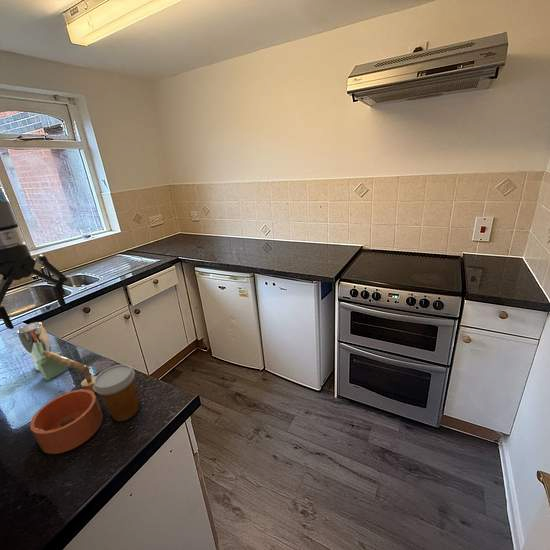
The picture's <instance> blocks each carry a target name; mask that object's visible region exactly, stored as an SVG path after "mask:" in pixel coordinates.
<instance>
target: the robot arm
mask: <svg viewBox="0 0 550 550" xmlns="http://www.w3.org/2000/svg"><path fill="white" fill-rule="evenodd" d="M24 241H25V238H24V236H23V233H22V230H21V228H20V226H19V223H18V220H17V218H16V216H15V214H14V210H13V208H12V205H11V203H10V201H9V199H8V196H7V195H6V193H5V190H4V188H3V187H2V186H1V185H0V276H2V278H1V279H0V320H2V321H3V324H4V325H5V327H6V328H7V329H9V330H13V329H15V327H14V325H13V322H12V320H11V318H10V316H9V314H8V312H7V310H6V308H5V306H3V305H2V303H3V300H4V298H5V296H6V294H7V292H8V290H9V288H10V286H11V285H12V283H13V282H14V281H20V280H22V279H23V278H30V277H31V275H33V276H36V277H37V278H40V279H41V280H44V281H46V282H49V283H51V284H53V285H52V286H51V288H52V290H53V293H54V295H55V298H56V300H57V304H58V305H59V307H62V308H65V307H67V306H68V305H67V303H66V300H65V298H64V295H66V291H65V288H64V283H65V282H68V277H66V276H65V274H63V273H62V272H61V271H60V270H59V269H57V268H56V267H55V266H54V265H53V264H52V263H50V262H49V260H48V259H47V256H45V255H42V254H39V255H37V257H34V258H33V257H32V255H31V252H30V250H29V248H28V245H27V243H25V242H24ZM36 264H39V265H41V266H42V267H44V268H45V269H46V270H47V271H48V272H50V273H51V274H52V275H53V276H54V277H56V278H57V279H56V278H54V277H52V276H50V275H48V274H46V273H44V272H42V271H40V270H38V269H37V268H35V266H36Z"/></svg>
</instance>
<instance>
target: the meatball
mask: <svg viewBox="0 0 550 550" xmlns="http://www.w3.org/2000/svg"><path fill="white" fill-rule="evenodd" d="M73 421H74V419H73V418H72V417H66V418H64V419H63V420H62V422H61V427H63V426H65V425H67V424H69V423H71V422H73Z"/></svg>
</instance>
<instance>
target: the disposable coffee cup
mask: <svg viewBox="0 0 550 550" xmlns="http://www.w3.org/2000/svg"><path fill="white" fill-rule="evenodd" d="M135 374H136V372H135V370H134V368H132V367H131V366H130V365H128V364H116V365H112V366H110V367H107V368H106V369H103V370H102V371H101V372H99V374H98V375H96V376H97V377H96V378H95V380H94V386H93V389H94V391H95V392H94V393H96V394H98V395H99V397H100V399H101V401H102V402H103V404H104V405H105V407H106V409H107V411H108V412H109V414H110V415H111V417H112V418H113V420H114V421H116V422H124V421H127V420H129V419H131V418H132V417H133V416H135V415H136V414H137V413H138V411H139V407H140V406H139V401H138V395H137V389H136V387H137V386H136V382H135V381H136V380H135Z"/></svg>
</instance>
